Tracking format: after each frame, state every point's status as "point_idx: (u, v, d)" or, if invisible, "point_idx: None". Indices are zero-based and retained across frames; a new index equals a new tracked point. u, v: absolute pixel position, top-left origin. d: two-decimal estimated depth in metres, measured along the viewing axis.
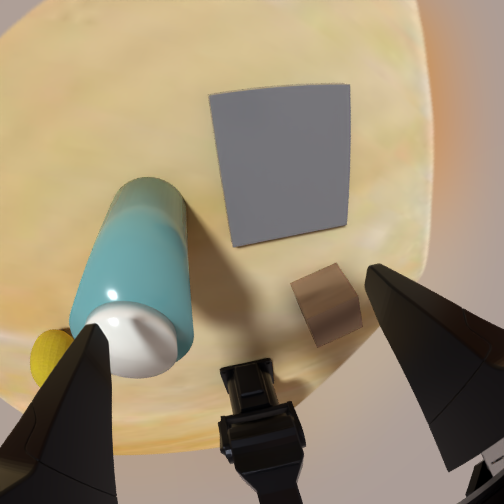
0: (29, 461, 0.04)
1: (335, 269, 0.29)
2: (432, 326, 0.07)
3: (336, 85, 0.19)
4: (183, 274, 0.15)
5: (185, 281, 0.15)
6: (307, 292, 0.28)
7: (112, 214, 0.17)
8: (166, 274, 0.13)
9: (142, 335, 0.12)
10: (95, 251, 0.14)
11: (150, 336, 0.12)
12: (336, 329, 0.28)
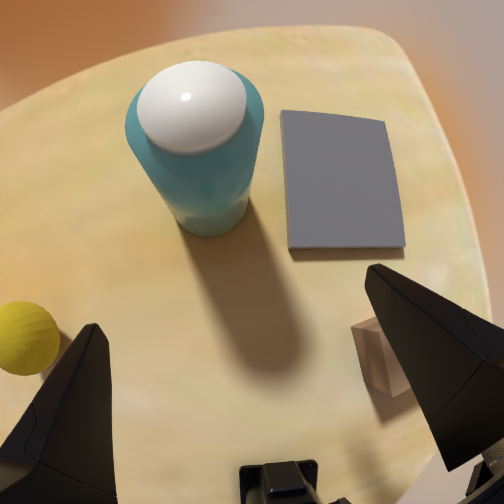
0: (28, 461, 0.04)
1: None
2: (432, 326, 0.07)
3: (374, 120, 0.25)
4: None
5: None
6: (373, 323, 0.21)
7: None
8: None
9: (217, 79, 0.11)
10: None
11: (225, 82, 0.11)
12: None
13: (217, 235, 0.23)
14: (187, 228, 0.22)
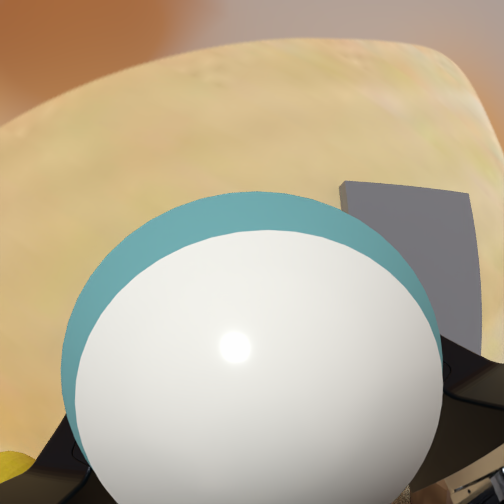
0: (79, 467, 0.04)
1: None
2: None
3: (458, 193, 0.17)
4: None
5: None
6: None
7: None
8: None
9: (365, 344, 0.03)
10: None
11: (390, 353, 0.03)
12: None
13: None
14: None
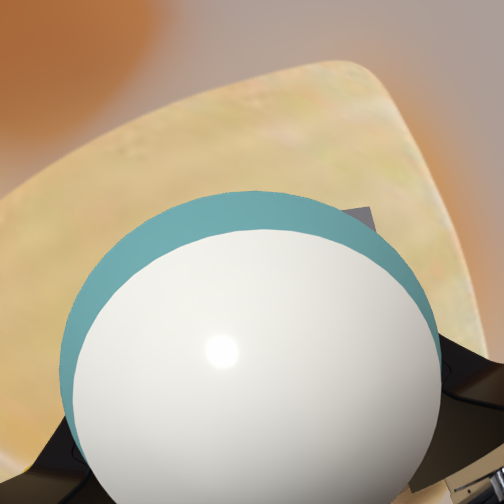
0: (79, 468, 0.04)
1: None
2: None
3: (357, 209, 0.22)
4: None
5: None
6: None
7: None
8: None
9: (363, 343, 0.03)
10: None
11: (388, 353, 0.03)
12: None
13: None
14: None
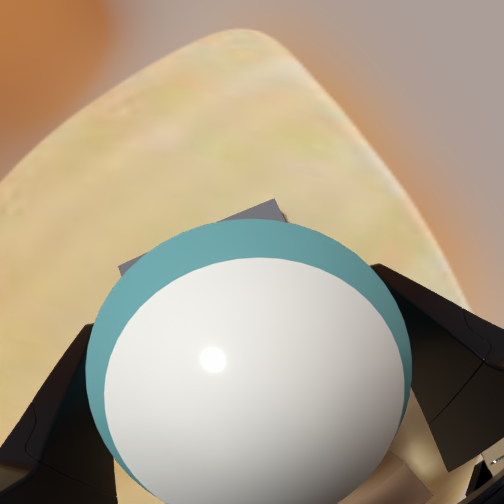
0: (29, 461, 0.04)
1: None
2: (432, 326, 0.07)
3: (257, 206, 0.18)
4: None
5: None
6: None
7: None
8: None
9: (335, 346, 0.04)
10: None
11: (356, 354, 0.04)
12: None
13: None
14: None
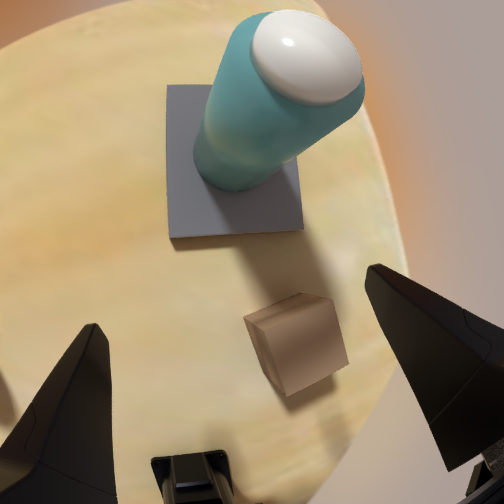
0: (29, 461, 0.04)
1: (299, 296, 0.23)
2: (432, 326, 0.07)
3: None
4: None
5: None
6: (264, 316, 0.21)
7: None
8: None
9: (340, 46, 0.10)
10: None
11: (346, 52, 0.10)
12: (312, 361, 0.19)
13: (229, 191, 0.21)
14: (205, 172, 0.20)
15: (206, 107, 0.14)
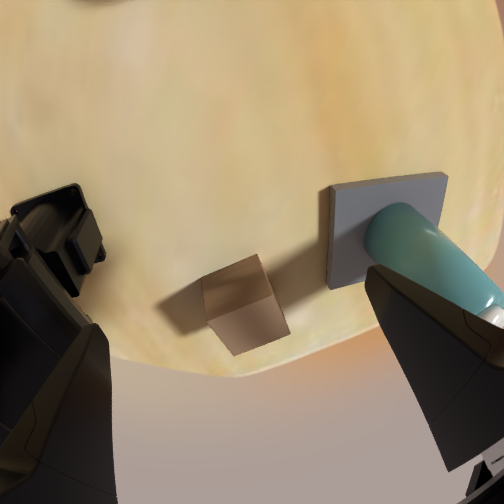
0: (29, 461, 0.04)
1: (275, 295, 0.27)
2: (432, 326, 0.07)
3: None
4: None
5: None
6: (267, 279, 0.24)
7: None
8: None
9: None
10: None
11: None
12: (239, 332, 0.22)
13: (366, 234, 0.24)
14: (387, 220, 0.22)
15: (449, 246, 0.18)
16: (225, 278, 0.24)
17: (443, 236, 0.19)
